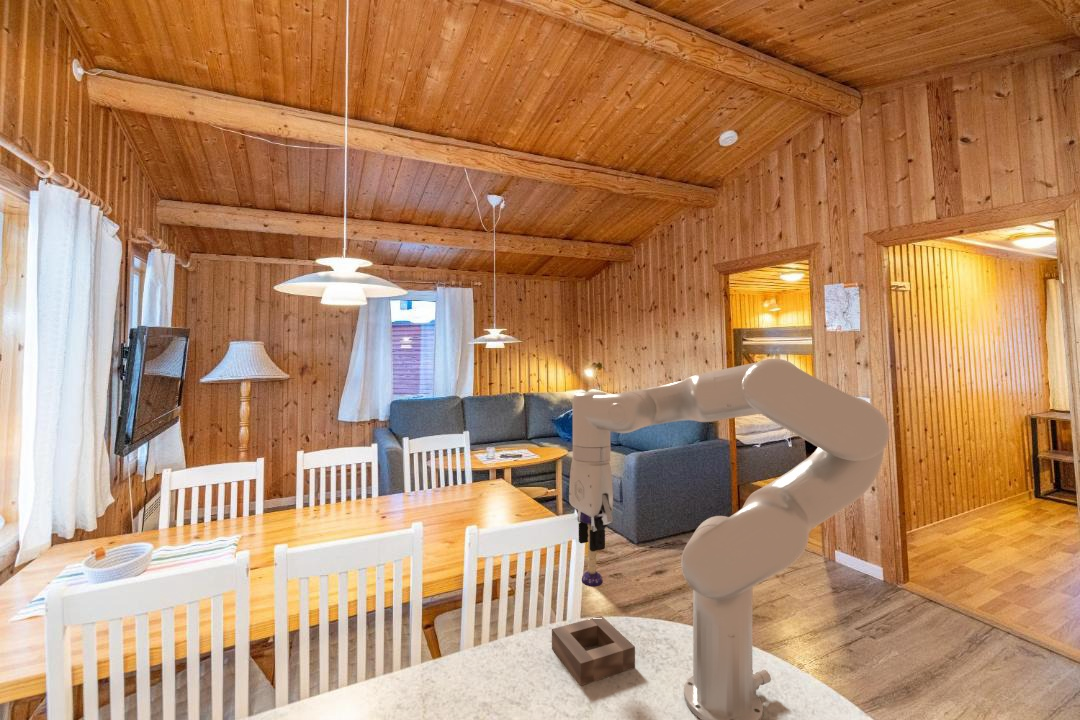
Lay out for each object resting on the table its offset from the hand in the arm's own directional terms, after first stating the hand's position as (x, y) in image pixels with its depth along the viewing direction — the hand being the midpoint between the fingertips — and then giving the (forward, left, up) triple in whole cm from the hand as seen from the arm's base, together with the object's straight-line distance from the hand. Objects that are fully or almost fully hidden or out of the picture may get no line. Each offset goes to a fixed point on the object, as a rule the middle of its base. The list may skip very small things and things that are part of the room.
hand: (591, 544), depth 92 cm
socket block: (0, 0, -22) cm, 22 cm away
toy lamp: (0, -1, -8) cm, 8 cm away
